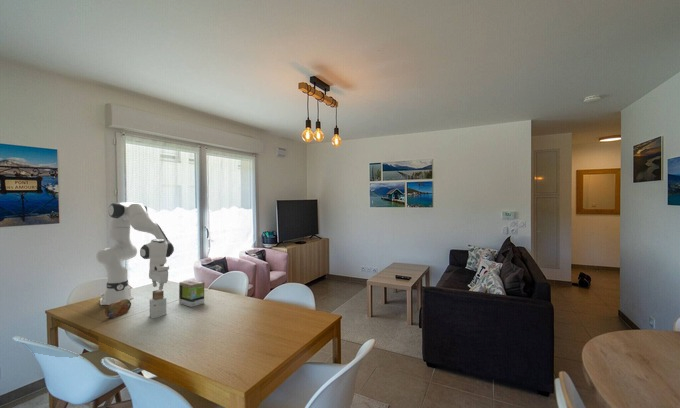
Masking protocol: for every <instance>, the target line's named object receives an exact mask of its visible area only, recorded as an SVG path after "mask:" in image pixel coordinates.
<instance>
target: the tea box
mask: <svg viewBox="0 0 680 408" xmlns="http://www.w3.org/2000/svg"><path fill="white" fill-rule="evenodd" d="M178 286H179V288H178V292H179V293H178V294H179V295H178V296H179V297H178V302H179V304H181V305H184V306H188V307H190V308H193V307H197V306H200V305H203V304H205V282H204V281H201V280H196V279H190V280H183V281H180V282H179V285H178Z"/></svg>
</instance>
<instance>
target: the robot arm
mask: <svg viewBox="0 0 680 408" xmlns="http://www.w3.org/2000/svg"><path fill="white" fill-rule="evenodd" d="M107 211H108V215H109V217H110V218H111V222H110V231H109V238H110V240H112V241H114V242H115V246H108V247H105V248H102V249H99V250H98V251H97V253H96V260H97V262H98V263H100V264H101V265H102V266H103V267H105V269H106V274H107V275H106V277H107V282H106V285H105V286H106V288H105V290H103V291H104V292H102V293H100V297H101V298H99V304H100V306H106V305H107V306H108V305H109V304H112V303H115V302H117V301H120V300H125V299H128V300H129V301H130V300H133V299H134V296H133V295H132V290H131V286H129V280H128V269H127V268H126V267H124V266H123V265H122V264H121V263H122V261H128V260H131V259H133V258H135V257H136V256H137V254H138V250H137V247H136V246H135V245H133V243H132V241H131V237H130V234H131V227H132V228H133V229H134V230H136V231H137V232H144V233H147V234H151V235H153V236H154V237H155V238H153V239H151V241H150V242H148V243H146V244H144V245H142V246H141V247H140V250H139V254H140V257H141V258H142V259H144V260H149V270H148V272H149V273H148V278H149V279H150V280H151V282H152V287H154V288H157V287H158V290H163V289H164V285H165V284H167V283H168V281H169V270H170V265H168V262H167V258H169V257H171V256H172V255H173V253H174V252H175V251H174V250H175V247H174V245H173V244H172V242H171V241H170V240H169V239H168V238H167V235H166V234H165V232H164V231H163V229H162V228H161V227H160V225H159V224H158V223H157V222H155V221H154V220H152V219H151V217H150V216H149V212H148V207H147V205H145V204H144V203H141V202H140V203H139V202H114V203H110V204H109V207H108V210H107ZM158 284H159V286H158Z"/></svg>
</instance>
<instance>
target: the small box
mask: <svg viewBox="0 0 680 408" xmlns="http://www.w3.org/2000/svg"><path fill="white" fill-rule="evenodd" d="M166 315H167V297H166V296H164V297H163V298H162V299H158V300H154V299H153V297H152V298H150V299H149V317H150V318H151V319H155V318H158V317H159V318H160V317H163V316H166Z"/></svg>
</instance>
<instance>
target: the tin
mask: <svg viewBox="0 0 680 408" xmlns="http://www.w3.org/2000/svg"><path fill="white" fill-rule="evenodd" d="M131 306H132V301H130V300H128V299H125V300H120V301H117V302H115V303H112V304H109V305H107V306H106V308H105V310H104V315H105V317H107V318H112V319H113V318H114V319H115V318H117V317H118V316H121V315H123V314H126V313H128V312H129V311H130V310H131Z"/></svg>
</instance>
